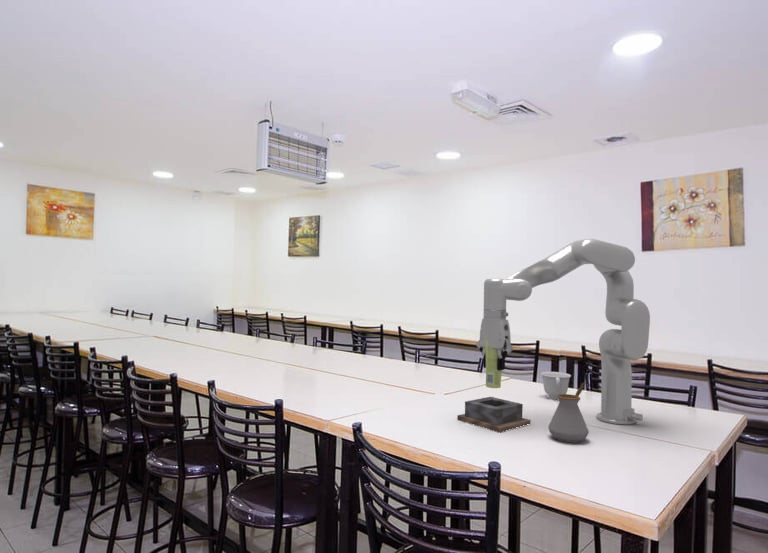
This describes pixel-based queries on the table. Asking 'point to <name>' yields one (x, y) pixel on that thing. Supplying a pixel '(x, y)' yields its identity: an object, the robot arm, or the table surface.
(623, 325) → the robot arm
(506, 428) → the socket board
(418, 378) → the table surface
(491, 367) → the tube
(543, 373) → the teacup
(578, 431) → the coffee pot
